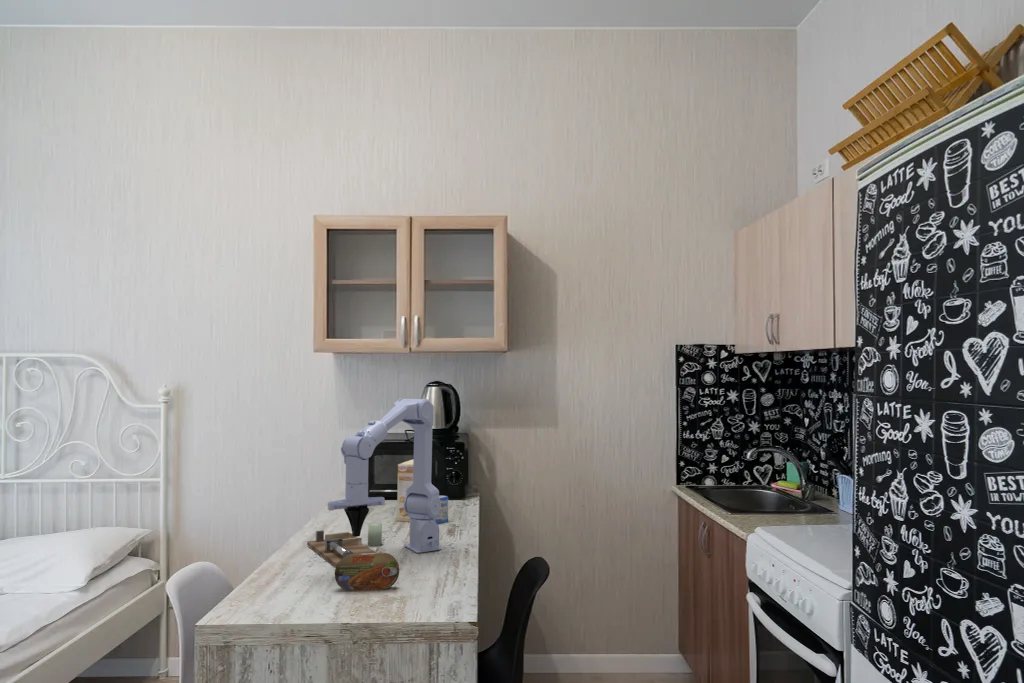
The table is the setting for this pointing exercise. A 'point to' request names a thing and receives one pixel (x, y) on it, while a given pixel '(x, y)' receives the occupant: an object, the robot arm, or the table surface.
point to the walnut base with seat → (347, 543)
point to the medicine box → (442, 511)
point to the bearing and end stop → (327, 542)
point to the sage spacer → (374, 534)
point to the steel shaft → (340, 549)
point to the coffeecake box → (404, 488)
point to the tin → (367, 572)
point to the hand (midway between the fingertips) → (356, 535)
